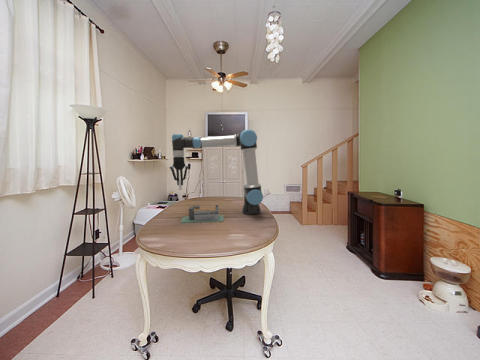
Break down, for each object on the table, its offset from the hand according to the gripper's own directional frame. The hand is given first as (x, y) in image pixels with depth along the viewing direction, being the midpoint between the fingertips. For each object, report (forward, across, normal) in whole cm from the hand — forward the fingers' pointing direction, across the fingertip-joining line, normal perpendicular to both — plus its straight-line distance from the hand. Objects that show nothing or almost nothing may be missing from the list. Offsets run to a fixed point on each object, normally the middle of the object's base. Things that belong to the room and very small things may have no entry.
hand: (180, 189), depth 149 cm
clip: (+22, -9, +1) cm, 24 cm away
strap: (+16, -18, +1) cm, 24 cm away
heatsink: (+23, -18, +1) cm, 29 cm away
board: (+23, -15, +1) cm, 27 cm away
